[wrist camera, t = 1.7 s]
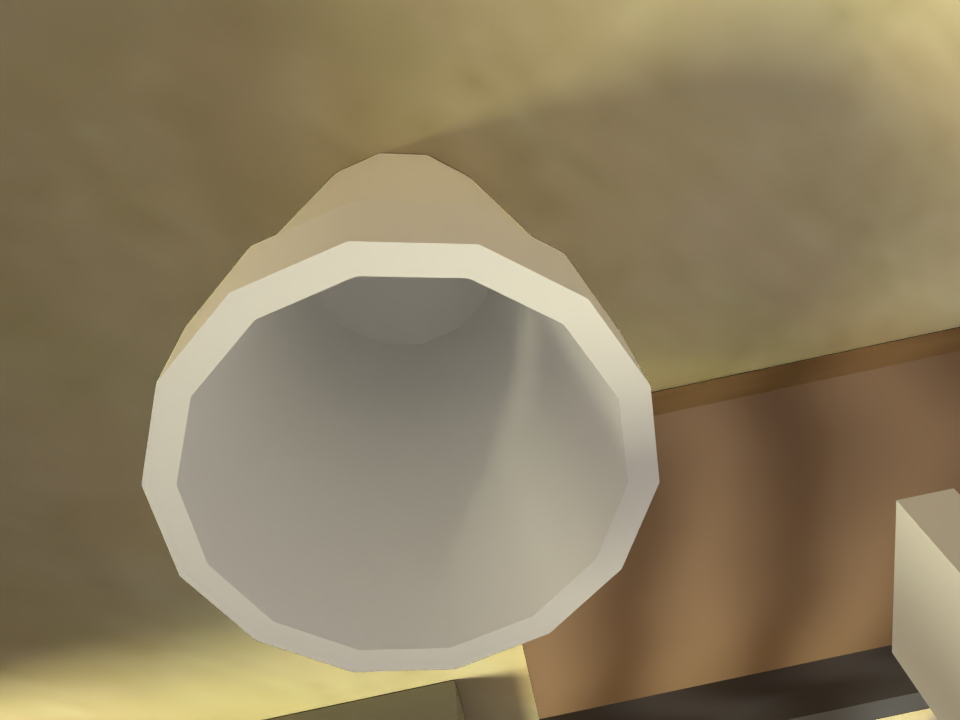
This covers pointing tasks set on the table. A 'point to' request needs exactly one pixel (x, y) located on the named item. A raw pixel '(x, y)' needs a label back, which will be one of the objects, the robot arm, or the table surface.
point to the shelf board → (767, 547)
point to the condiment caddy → (395, 706)
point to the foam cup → (400, 430)
